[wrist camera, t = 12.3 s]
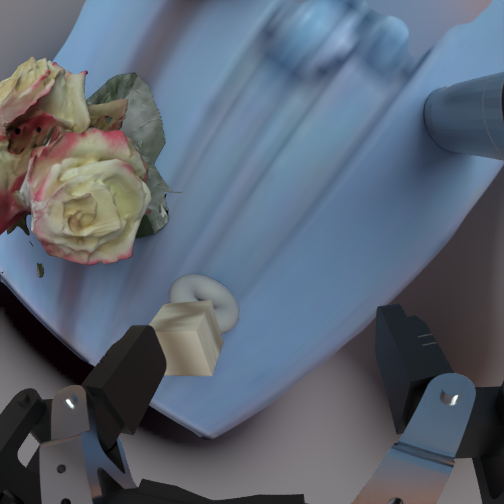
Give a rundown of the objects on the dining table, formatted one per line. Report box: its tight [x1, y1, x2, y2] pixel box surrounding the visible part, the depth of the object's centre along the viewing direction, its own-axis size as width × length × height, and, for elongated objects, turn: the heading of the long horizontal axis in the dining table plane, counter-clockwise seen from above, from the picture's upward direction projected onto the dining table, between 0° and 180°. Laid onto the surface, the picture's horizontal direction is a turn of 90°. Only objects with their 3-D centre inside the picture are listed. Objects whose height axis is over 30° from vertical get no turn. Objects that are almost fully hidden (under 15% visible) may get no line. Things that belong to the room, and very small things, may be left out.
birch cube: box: [149, 300, 223, 376], centre depth 32 cm, size 6×6×6 cm
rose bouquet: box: [0, 57, 181, 278], centre depth 25 cm, size 26×29×30 cm
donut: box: [169, 274, 239, 334], centre depth 39 cm, size 10×4×10 cm, turn 60°
